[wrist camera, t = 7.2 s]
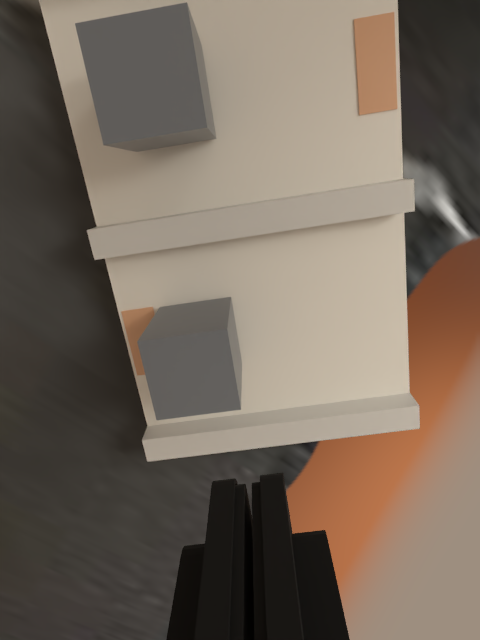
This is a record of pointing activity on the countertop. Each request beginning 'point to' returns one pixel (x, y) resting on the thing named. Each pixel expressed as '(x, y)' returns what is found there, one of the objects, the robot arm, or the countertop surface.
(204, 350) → the tab
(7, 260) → the countertop surface
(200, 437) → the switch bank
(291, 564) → the robot arm
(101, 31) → the tab
